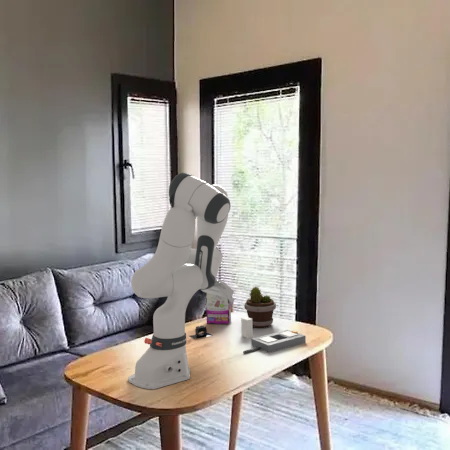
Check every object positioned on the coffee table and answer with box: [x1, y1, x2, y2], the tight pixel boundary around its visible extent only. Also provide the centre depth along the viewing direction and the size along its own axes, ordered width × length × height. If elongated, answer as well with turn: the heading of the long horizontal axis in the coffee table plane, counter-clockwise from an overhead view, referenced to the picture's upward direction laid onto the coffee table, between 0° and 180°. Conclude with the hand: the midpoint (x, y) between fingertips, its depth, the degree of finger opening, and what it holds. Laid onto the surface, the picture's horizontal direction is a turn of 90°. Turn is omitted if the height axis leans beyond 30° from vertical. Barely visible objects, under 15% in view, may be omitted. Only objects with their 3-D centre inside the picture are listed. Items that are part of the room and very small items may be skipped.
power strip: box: [242, 329, 307, 354], centre depth 215 cm, size 28×11×4 cm, turn 126°
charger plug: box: [240, 316, 254, 339], centre depth 228 cm, size 3×4×8 cm
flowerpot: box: [243, 284, 277, 329], centre depth 244 cm, size 14×15×20 cm
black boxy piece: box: [188, 325, 213, 340], centre depth 230 cm, size 12×7×5 cm, turn 119°
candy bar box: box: [205, 293, 232, 325], centre depth 250 cm, size 11×5×16 cm, turn 81°
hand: (226, 299), depth 220 cm, fingers open, 8 cm apart
